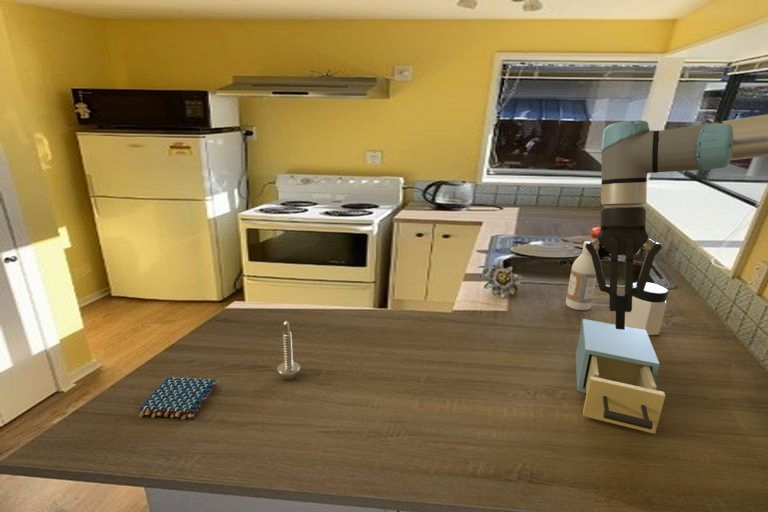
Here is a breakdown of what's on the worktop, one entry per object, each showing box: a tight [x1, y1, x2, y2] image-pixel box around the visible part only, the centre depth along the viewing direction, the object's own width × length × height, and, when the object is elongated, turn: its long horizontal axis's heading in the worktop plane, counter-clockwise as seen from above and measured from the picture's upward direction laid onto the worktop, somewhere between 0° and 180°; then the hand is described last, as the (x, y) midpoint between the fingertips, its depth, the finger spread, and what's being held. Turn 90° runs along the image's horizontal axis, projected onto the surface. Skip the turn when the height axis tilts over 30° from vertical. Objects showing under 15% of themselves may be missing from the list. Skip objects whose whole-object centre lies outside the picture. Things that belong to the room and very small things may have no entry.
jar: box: [625, 281, 669, 336], centre depth 113 cm, size 9×8×12 cm
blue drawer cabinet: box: [574, 318, 661, 394], centre depth 90 cm, size 15×13×10 cm
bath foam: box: [565, 240, 597, 311], centre depth 124 cm, size 7×7×20 cm
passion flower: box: [482, 261, 522, 299], centre depth 135 cm, size 11×11×12 cm
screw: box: [276, 320, 302, 381], centre depth 87 cm, size 13×5×5 cm
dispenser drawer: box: [582, 354, 666, 435], centre depth 79 cm, size 19×12×8 cm, turn 158°
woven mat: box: [138, 376, 218, 421], centre depth 81 cm, size 10×11×2 cm
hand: (619, 327), depth 83 cm, fingers closed
